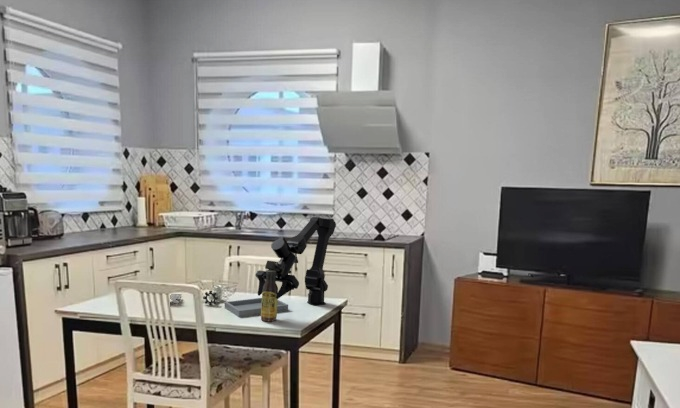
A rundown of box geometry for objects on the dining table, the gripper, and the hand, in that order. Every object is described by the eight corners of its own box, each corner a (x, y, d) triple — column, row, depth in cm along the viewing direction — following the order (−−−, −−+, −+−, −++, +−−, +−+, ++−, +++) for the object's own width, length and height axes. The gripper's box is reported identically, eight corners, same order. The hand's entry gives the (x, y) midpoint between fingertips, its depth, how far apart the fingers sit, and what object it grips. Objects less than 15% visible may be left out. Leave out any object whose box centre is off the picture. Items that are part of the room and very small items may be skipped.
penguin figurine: (163, 284, 219) (172, 281, 231) (162, 304, 219) (171, 300, 231) (177, 285, 219) (186, 282, 231) (176, 304, 219) (185, 300, 231)
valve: (212, 299, 232) (202, 305, 220) (212, 284, 232) (203, 290, 220) (226, 299, 231) (217, 306, 219) (226, 285, 231) (217, 291, 219)
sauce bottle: (258, 321, 196) (259, 271, 195) (263, 317, 202) (264, 268, 202) (274, 322, 195) (275, 272, 194) (279, 318, 201) (280, 269, 200)
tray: (271, 302, 228) (271, 296, 228) (288, 310, 214) (288, 304, 214) (224, 307, 216) (224, 301, 216) (238, 317, 202) (238, 310, 202)
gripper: (258, 250, 206) (239, 281, 197) (295, 255, 196) (277, 287, 187) (270, 267, 213) (252, 297, 204) (306, 272, 203) (289, 304, 194)
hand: (267, 296), depth 197 cm, fingers open, 9 cm apart
